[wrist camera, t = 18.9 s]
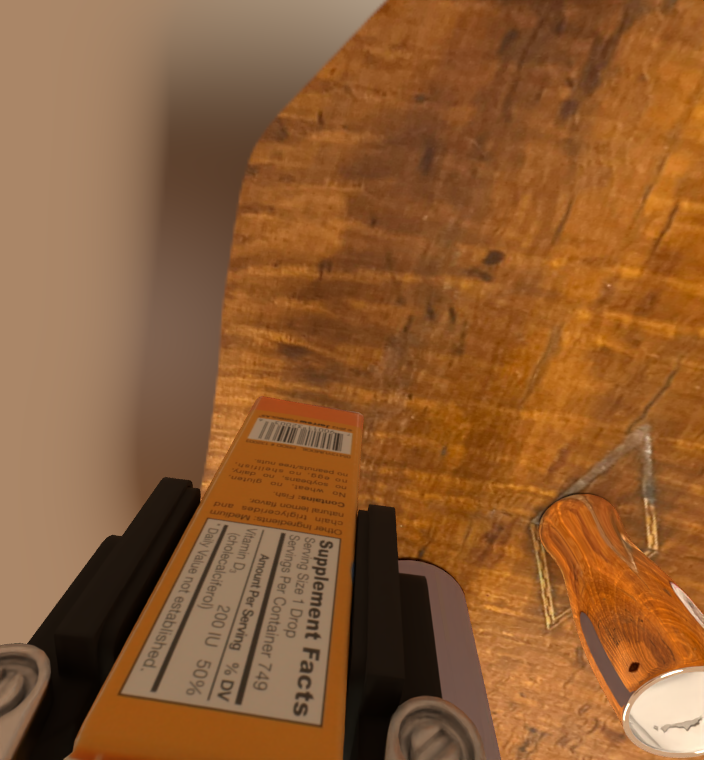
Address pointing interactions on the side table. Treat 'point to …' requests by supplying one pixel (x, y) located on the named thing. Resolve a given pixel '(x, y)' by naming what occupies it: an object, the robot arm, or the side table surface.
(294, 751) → the supplement box
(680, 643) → the wood grain tumbler
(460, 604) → the grey cylinder
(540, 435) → the side table surface
